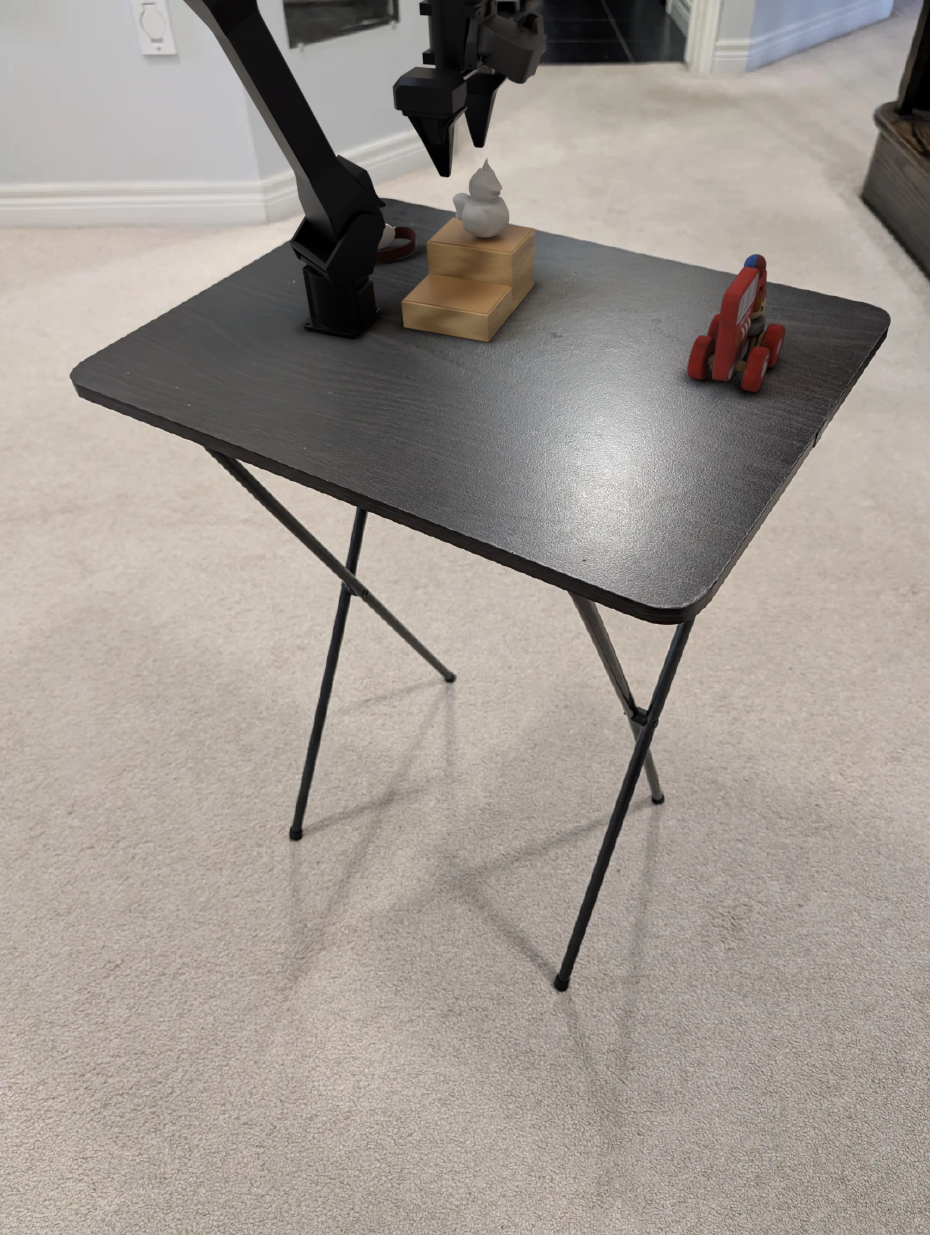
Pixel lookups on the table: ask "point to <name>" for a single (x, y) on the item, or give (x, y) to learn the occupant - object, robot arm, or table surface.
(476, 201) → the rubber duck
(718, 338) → the toy fire truck
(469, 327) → the step shelf
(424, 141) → the robot arm
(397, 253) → the watch
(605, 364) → the table surface
